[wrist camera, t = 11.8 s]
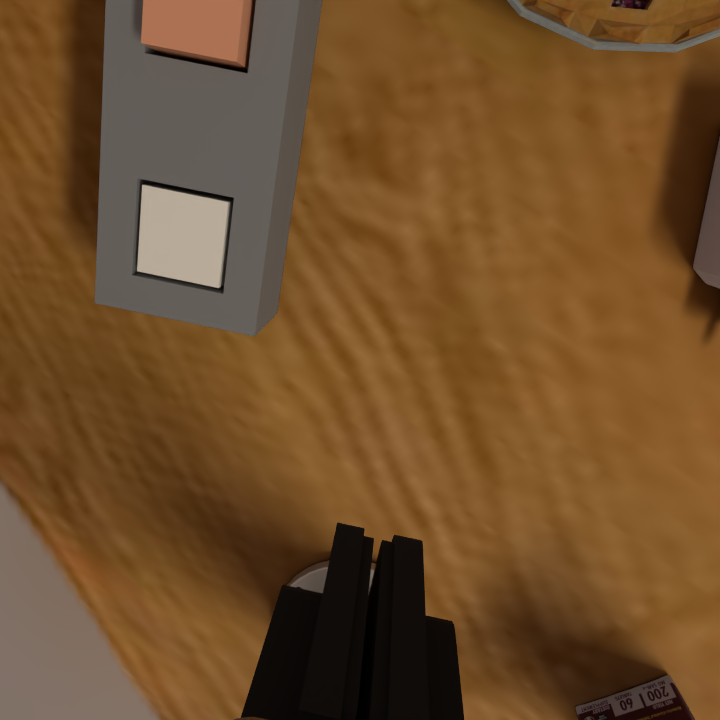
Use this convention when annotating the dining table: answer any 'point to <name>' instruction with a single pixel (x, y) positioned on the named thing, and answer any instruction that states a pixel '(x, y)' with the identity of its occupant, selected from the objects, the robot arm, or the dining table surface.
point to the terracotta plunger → (201, 31)
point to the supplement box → (640, 704)
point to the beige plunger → (184, 234)
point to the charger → (710, 232)
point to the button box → (204, 159)
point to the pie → (627, 22)
